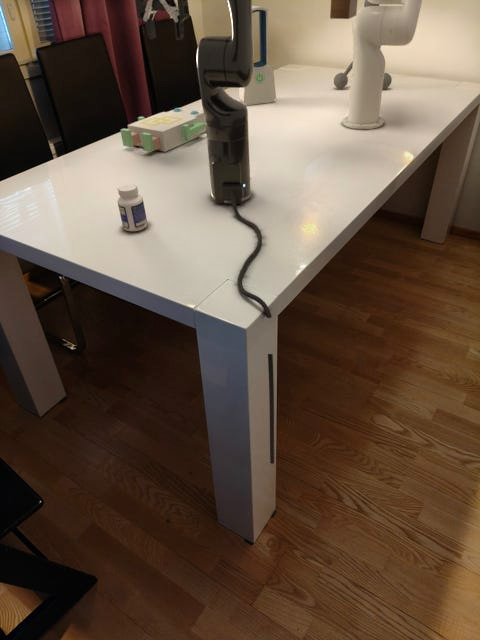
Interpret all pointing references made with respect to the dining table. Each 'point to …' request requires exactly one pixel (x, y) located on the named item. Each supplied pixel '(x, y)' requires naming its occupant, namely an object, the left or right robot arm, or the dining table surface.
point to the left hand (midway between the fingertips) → (165, 39)
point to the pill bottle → (131, 208)
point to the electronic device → (260, 68)
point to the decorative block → (164, 130)
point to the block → (343, 9)
